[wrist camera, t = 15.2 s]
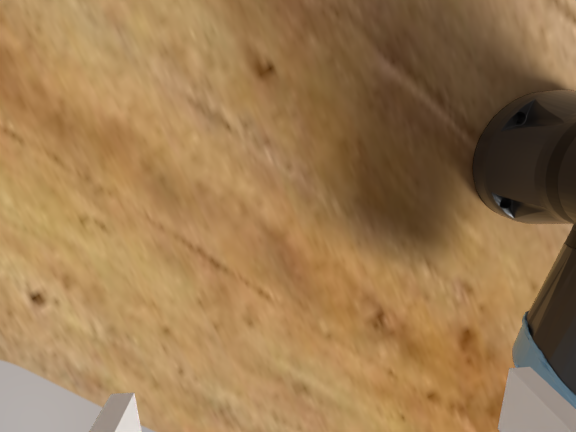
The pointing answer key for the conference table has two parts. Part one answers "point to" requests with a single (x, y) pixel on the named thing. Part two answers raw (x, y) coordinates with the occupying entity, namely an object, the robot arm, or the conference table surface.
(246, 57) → the conference table surface
